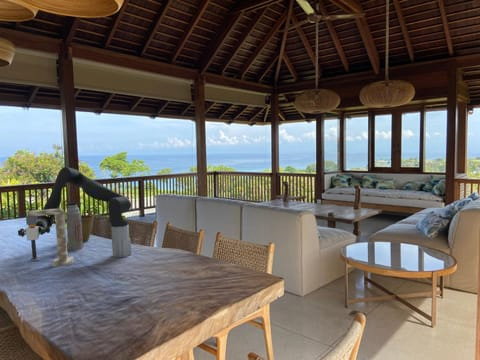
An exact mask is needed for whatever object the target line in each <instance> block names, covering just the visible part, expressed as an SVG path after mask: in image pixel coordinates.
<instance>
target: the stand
mask: <svg viewBox="0 0 480 360" xmlns="http://www.w3.org/2000/svg"><path fill="white" fill-rule="evenodd" d="M42 215H45V216H49V215H55V216H54V220H55V221H54V222H55V235H56V247H57V258H54V260H53V261H52V264H51V266H52V267H58V266H59V265H60V266H66V265H67V266H68V265H73V262H74V256H68V240H67V226H66V213H65V209H64V210H63V208H62V207H61V208H58V209H47V210H43V209H36V210H35V209H33V210H29V211H27V216H28V217H29V216H42Z"/></svg>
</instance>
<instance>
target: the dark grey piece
mask: <svg viewBox="0 0 480 360" xmlns="http://www.w3.org/2000/svg"><path fill="white" fill-rule="evenodd" d="M25 221H26V222H25V223H26V225H27V228H28V227H30V228H34V227H35V226H36V223H37V216H29V217H28V215H27V216H26V217H25ZM30 243H31V253H32V255H31V256H32V257H31V258H30V262H31V263H37V262H39V259H40V258H39V257H38V256H37V245H36V244H37V243H36V240H30Z"/></svg>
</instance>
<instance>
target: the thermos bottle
mask: <svg viewBox="0 0 480 360" xmlns="http://www.w3.org/2000/svg"><path fill="white" fill-rule="evenodd" d="M67 205H68V206H67V207H68V208H67V209H66V213H65V223H66V238H67V251H77V250H81V249H83V248H84V245H83V243H84V242H82V226H81V215H82V213H81V211H80V208H79V207H78V202H70V203H68V204H67Z"/></svg>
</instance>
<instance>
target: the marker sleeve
mask: <svg viewBox="0 0 480 360" xmlns="http://www.w3.org/2000/svg"><path fill="white" fill-rule="evenodd" d="M26 228H27V229H26ZM26 228H25V229H26V235H25V236H26V241H31V240H35V241H36V240H39V238H40V235H39V230H38V226H35V227H34V228H30V227H28V226H27V227H26Z"/></svg>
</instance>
